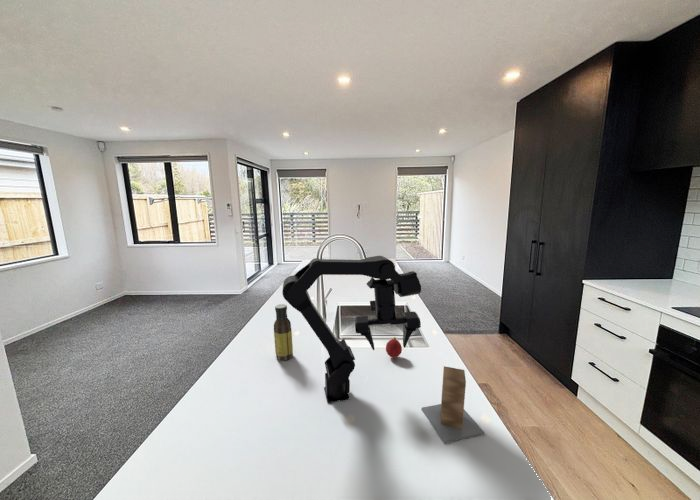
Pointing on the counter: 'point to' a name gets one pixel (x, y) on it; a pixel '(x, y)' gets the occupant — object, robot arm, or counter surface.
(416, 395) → the counter surface
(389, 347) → the onion
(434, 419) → the coaster
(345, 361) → the robot arm
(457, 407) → the block
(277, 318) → the sauce bottle
